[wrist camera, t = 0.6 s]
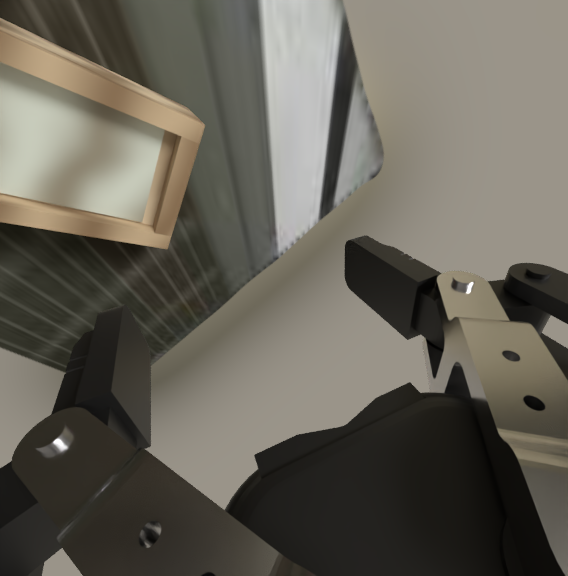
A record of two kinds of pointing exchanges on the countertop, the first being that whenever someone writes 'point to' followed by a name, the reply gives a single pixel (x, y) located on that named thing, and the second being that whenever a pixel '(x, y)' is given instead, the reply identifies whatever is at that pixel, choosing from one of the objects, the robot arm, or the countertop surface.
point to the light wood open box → (88, 146)
